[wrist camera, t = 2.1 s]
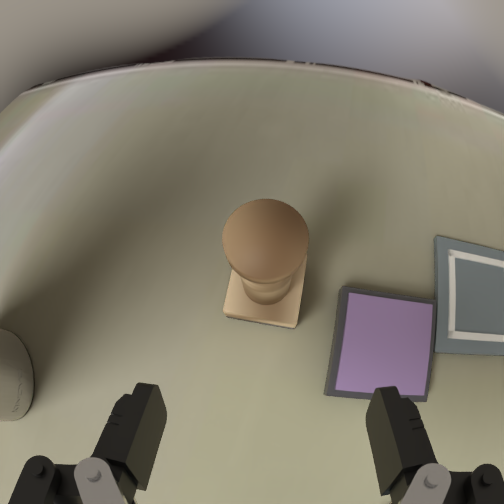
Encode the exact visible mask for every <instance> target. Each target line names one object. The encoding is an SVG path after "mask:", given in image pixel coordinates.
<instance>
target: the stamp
mask: <svg viewBox="0 0 504 504" xmlns="http://www.w3.org/2000/svg"><path fill="white" fill-rule="evenodd" d="M222 242H223V248H224V251H225V254H226V257H227V260H228V262H229V264H230V265H231V267H232V272H231V276H230V281H229V285H228V290H227V294H226V299H225V303H224V308H223V312H224V313H225V315H226V316H227V317H228V318H233V319H238V320H244V321H249V322H255V323H260V324H266V325H272V326H277V327H283V328H289V329H294V328H295V326H296V325H297V320H298V314H299V308H300V302H301V295H302V289H303V282H304V276H305V269H306V262H307V255H308V254H306V252H307V249H308V244H309V233H308V228H307V225H306V223H305V221H304V219H303V218H302V216H301V215H300V214H299V213H298V212H297V211H296V210H295V209H294V208H293V207H291V206H290V205H288V204H286V203H284V202H281V201H278V200H273V199H259V200H254V201H250V202H248V203H246V204H244V205H242V206H240V207H239V208H237V209H236V210H235V211H234V212H233V213H232V214H231V215H230V217H229V218H228V220H227V222H226V224H225V226H224V229H223V235H222Z"/></svg>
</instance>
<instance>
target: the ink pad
mask: <svg viewBox="0 0 504 504" xmlns="http://www.w3.org/2000/svg"><path fill="white" fill-rule="evenodd" d="M435 319H436V300H432V299H425V298H418V297H412V296H405V295H398V294H391V293H385V292H378V291H371V290H365V289H358V288H352V287H346V286H342V287H341V289H340V290H339V297H338V305H337V313H336V320H335V327H334V334H333V341H332V348H331V354H330V360H329V366H328V372H327V378H326V383H325V389H324V395H326V396H335V397H345V398H356V399H368V400H371V399H372V396H373V393H374V390H375V389H376V388H378V387H387V386H396V387H397V389H398V391H399V394H400V396H401V398H407V397H408V398H409V399H410V400H411V401H412V402H427V397H428V390H429V383H430V376H431V367H432V358H433V348H434V335H435Z"/></svg>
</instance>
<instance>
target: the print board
mask: <svg viewBox="0 0 504 504" xmlns="http://www.w3.org/2000/svg"><path fill="white" fill-rule="evenodd" d="M434 255H435V300H436V319H435V335H434V348H433V352H435V353H451V354H469V355H499V356H504V251H500V250H496V249H492V248H488V247H484V246H479V245H475V244H471V243H467V242H462V241H458V240H454V239H449V238H445V237H440V236H436V237H435V238H434Z"/></svg>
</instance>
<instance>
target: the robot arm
mask: <svg viewBox="0 0 504 504" xmlns="http://www.w3.org/2000/svg"><path fill="white" fill-rule="evenodd" d="M33 388H34V379H33V370H32V365H31V361H30V358H29V355H28V352H27V350H26V348H25V346H24V345H23V343H22V342H21V340H20V339H19V338H18V337H17V336H16V335H15V334H13V333H11V332H9V331H7V330H3V329H0V421H14V420H18V419H20V418H21V417H23V416H24V415H25V413H26V412H27V411H28V409H29V406H30V404H31V401H32V396H33ZM166 420H167V411H166V407H165V404H164V401H163V398H162V395H161V392H160V389H159V386H158V385H155V384H147V383H137V384H136V386H135V388H134V391H133V393H132V395H130V394H124V395H123V396H122V397H121V398H120V399H119V400H118V401H117V402H116V403H115V406H114V408H113V410H112V412H111V415H110V416H109V419H108V421H107V424H106V425H105V427H104V430H103V432H102V434H101V436H100V438H99V441H98V443H97V445H96V447H95V450H94V452H93V454H92V455H91V457H90V458H86V459H84V460H82V461H80V462H79V463H78V464H76V465H63V464H53V462H52V461H51V460H50V459H49V458H47V457H45V456H40V455H39V456H34V457H32V458H30V459H29V460H28V461H27V462H26V463H25V465H24V468H23V470H22V472H21V474H20V477H19V479H18V481H17V484H16V486H15V488H14V491H13V493H12V496H11V498H10V501H9V503H8V504H138V503H137V502H136V500H135V498H134V496H135V492H136V489H139V490H144V491H146V489H147V485H148V482H149V478H150V475H151V471H152V468H153V465H154V461H155V458H156V454H157V451H158V448H159V444H160V441H161V438H162V434H163V431H164V428H165V425H166ZM366 427H367V432H368V436H369V440H370V445H371V449H372V454H373V459H374V463H375V468H376V473H377V478H378V483H379V488H380V494H381V496H383V495H388V494H390V496H391V500H392V501H391V502H390V504H504V481H503V478H502V475H501V472H500V470H499V469H498V468H497V467H496V466H494V465H492V464H483V465H480V466H479V467H477V468H476V469H475V470H474V471H473V472H452V471H448V469H447V468H446V467H444V466H443V465H440V464H439V463H438V462H437V460H436V458H435V455H434V452H433V449H432V446H431V444H430V441H429V438H428V435H427V432H426V430H425V428H424V424H423V422H422V420H421V416H420V414H419V411H418V409H417V406H416V405H415V404H414V403H413V402H412V401H411V400H410V399H409V398H408V397H407V398H401V396H400V394H399V391H398V389H397V387H396V386H387V387H378V388H376V389H375V390H374V393H373V396H372V399H371V402H370V404H369V407H368V410H367V413H366Z"/></svg>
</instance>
